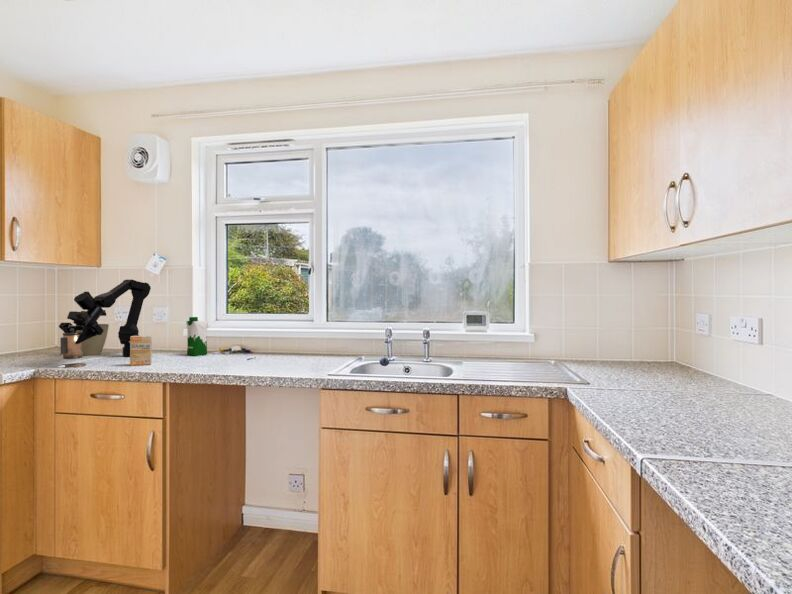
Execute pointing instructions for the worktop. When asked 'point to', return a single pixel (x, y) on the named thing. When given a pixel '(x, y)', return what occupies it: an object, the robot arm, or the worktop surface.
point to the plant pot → (95, 342)
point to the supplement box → (140, 350)
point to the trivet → (74, 364)
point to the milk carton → (196, 337)
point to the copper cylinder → (71, 345)
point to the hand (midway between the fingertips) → (69, 343)
